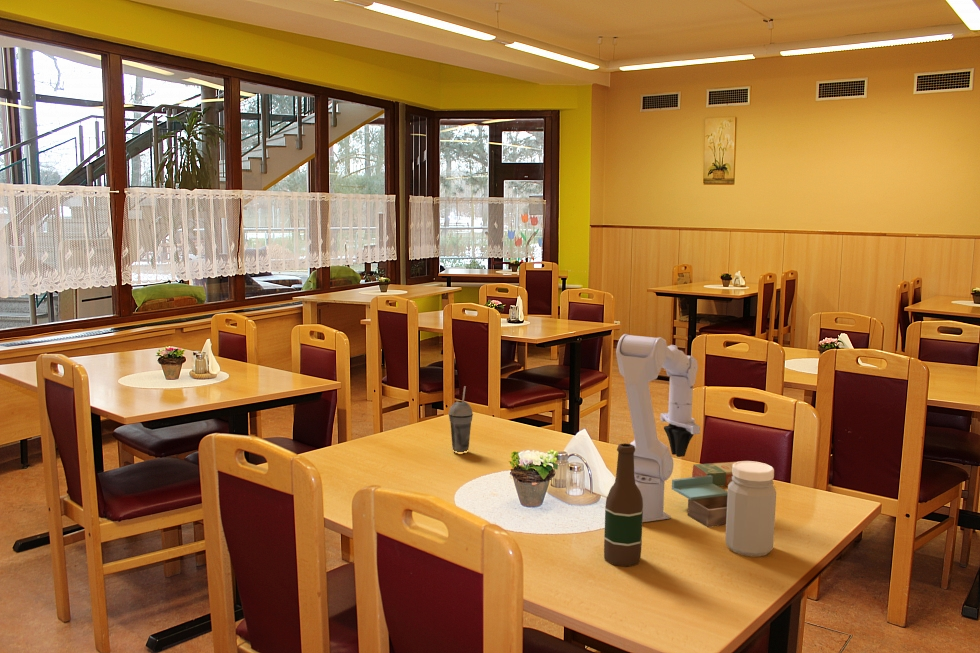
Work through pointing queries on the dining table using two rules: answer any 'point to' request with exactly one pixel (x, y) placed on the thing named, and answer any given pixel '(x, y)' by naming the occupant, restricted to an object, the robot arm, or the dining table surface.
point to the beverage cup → (460, 424)
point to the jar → (751, 509)
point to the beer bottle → (624, 513)
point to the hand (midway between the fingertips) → (678, 455)
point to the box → (709, 510)
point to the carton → (715, 472)
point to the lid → (697, 487)
